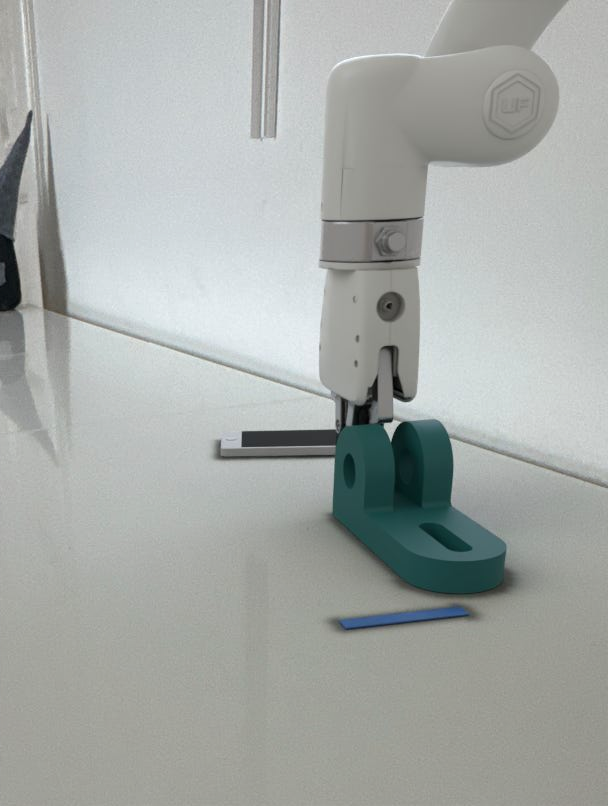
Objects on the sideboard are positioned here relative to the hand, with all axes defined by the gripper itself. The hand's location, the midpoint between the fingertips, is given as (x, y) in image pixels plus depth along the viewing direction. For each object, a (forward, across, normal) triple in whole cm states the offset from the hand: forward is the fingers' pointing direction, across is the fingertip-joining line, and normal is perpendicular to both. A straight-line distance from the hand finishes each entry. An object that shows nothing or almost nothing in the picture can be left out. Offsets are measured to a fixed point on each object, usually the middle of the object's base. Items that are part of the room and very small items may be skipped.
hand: (355, 482), depth 83 cm
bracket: (+2, -12, 0) cm, 12 cm away
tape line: (+2, -23, +5) cm, 24 cm away
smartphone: (+2, +19, -1) cm, 19 cm away
